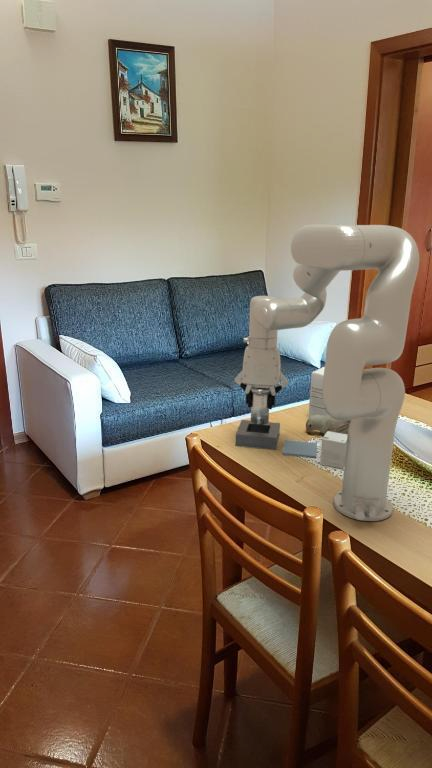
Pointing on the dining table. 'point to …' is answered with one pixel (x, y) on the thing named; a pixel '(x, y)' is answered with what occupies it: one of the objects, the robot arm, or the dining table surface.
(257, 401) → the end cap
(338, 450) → the skincare box
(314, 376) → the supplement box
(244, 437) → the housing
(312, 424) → the decorative bird
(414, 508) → the dining table surface
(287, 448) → the mat
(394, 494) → the dining table surface
